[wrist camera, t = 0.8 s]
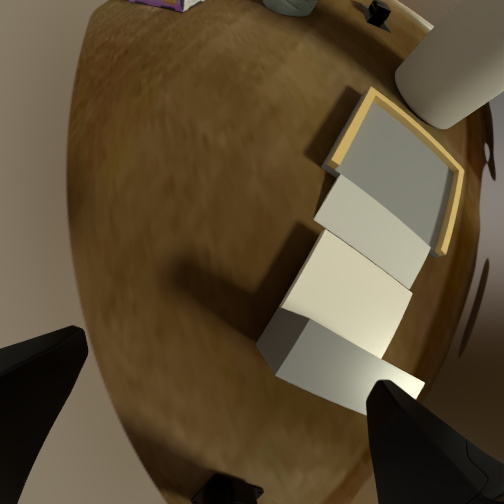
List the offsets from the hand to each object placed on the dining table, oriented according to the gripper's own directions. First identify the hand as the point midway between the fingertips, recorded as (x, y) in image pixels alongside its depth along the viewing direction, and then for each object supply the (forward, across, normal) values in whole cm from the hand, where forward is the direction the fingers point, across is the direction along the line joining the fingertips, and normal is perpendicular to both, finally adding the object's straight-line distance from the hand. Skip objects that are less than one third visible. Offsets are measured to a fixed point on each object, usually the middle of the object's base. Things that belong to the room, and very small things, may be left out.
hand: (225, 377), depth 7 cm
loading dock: (+25, -16, -7) cm, 30 cm away
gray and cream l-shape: (+17, -9, +7) cm, 21 cm away
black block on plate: (+42, -17, -43) cm, 63 cm away
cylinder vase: (+33, -23, -24) cm, 47 cm away
